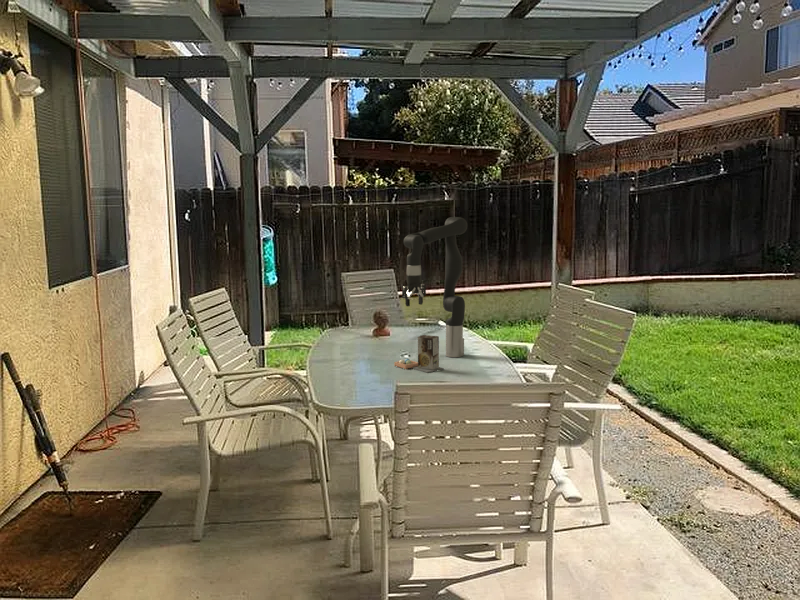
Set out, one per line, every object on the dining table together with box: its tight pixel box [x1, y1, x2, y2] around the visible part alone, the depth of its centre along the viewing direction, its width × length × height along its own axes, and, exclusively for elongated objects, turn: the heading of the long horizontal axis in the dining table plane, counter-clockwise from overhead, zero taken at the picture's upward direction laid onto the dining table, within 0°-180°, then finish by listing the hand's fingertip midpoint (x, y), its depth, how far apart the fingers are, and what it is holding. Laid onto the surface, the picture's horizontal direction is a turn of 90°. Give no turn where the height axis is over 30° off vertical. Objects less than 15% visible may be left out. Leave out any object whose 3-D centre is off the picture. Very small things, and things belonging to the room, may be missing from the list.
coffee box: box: [417, 334, 440, 370], centre depth 345 cm, size 9×6×16 cm
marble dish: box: [393, 359, 418, 370], centre depth 351 cm, size 9×9×2 cm
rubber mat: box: [411, 366, 445, 374], centre depth 346 cm, size 11×12×1 cm
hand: (414, 305), depth 353 cm, fingers open, 8 cm apart
